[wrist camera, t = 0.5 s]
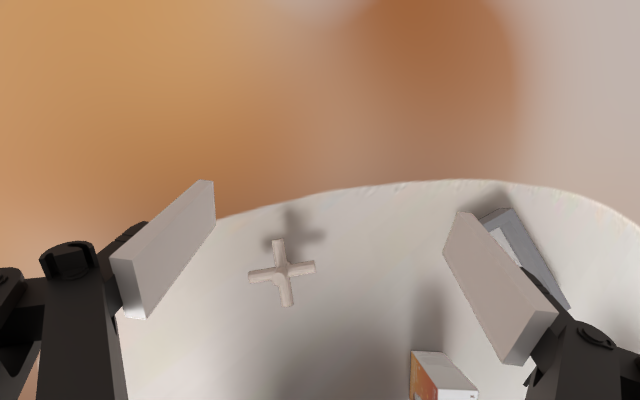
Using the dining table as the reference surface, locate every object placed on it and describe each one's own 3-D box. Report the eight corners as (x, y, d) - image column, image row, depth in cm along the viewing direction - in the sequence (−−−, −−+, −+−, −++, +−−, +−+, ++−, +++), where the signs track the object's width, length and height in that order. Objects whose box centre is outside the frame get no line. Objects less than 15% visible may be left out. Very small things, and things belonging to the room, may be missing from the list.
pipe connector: (252, 242, 48) (235, 248, 38) (310, 232, 48) (308, 236, 38) (261, 301, 47) (246, 323, 37) (320, 291, 48) (320, 310, 38)
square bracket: (552, 301, 48) (571, 308, 45) (507, 327, 48) (522, 336, 44) (498, 208, 49) (512, 208, 45) (454, 233, 49) (464, 234, 45)
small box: (410, 349, 47) (437, 386, 37) (443, 351, 47) (480, 389, 37) (408, 399, 47) (434, 451, 36) (441, 401, 47) (478, 454, 36)
